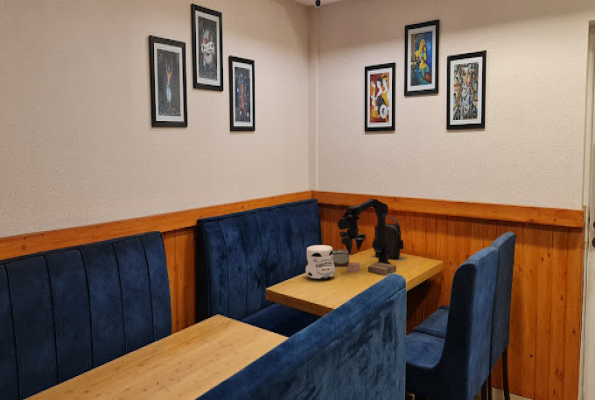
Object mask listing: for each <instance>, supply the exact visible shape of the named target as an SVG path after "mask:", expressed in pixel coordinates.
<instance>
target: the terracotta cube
mask: <svg viewBox="0 0 595 400" xmlns="http://www.w3.org/2000/svg"><path fill="white" fill-rule="evenodd" d="M347 272H350V273H354V274H355V273H358V272H360V263H359V262H356V261H352V262H349V263H348V267H347Z"/></svg>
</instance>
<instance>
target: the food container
mask: <svg viewBox="0 0 595 400" xmlns="http://www.w3.org/2000/svg"><path fill="white" fill-rule="evenodd" d="M351 254H352V253H351ZM351 254H349V253H348V250H347V249H337V250H336V249H335V250H333V263H334V267H335V268H348V263H350V256H351Z"/></svg>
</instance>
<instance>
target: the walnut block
mask: <svg viewBox="0 0 595 400" xmlns="http://www.w3.org/2000/svg"><path fill="white" fill-rule="evenodd" d="M396 272H397V266H396V265H394V264H391V263H389V264H385V263H377V262H376V263H374V264H371V265H368V266H367V273H371V274H374V275H378V276H379V275H380V276H387V275H390V274H393V273H396ZM389 273H390V274H389Z"/></svg>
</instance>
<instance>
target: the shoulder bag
mask: <svg viewBox="0 0 595 400" xmlns="http://www.w3.org/2000/svg"><path fill="white" fill-rule="evenodd" d="M385 219H390V220H393V221H394V222H395V223H388V222H385V240H386V242H387V244H388V248H389V250H390V251H391V255H389V256H388V260H391V261H397V262H402V261H404V260H406V259H407V257H403V256H401V250H404V248H405V246H404V239H402V233H403V230H401V225H400V223H399V221H398V220H397V219H396V218H394V217H390V216H386V217H385ZM373 235H374V238H373V240H372V245H371V248H372V249H373V252H374V254H373V255H372V256H371V257H374V258H378V257H379V254H376V251H375V248H374V242H376V240H377V224H376V225H375V226H374V233H373Z"/></svg>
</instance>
